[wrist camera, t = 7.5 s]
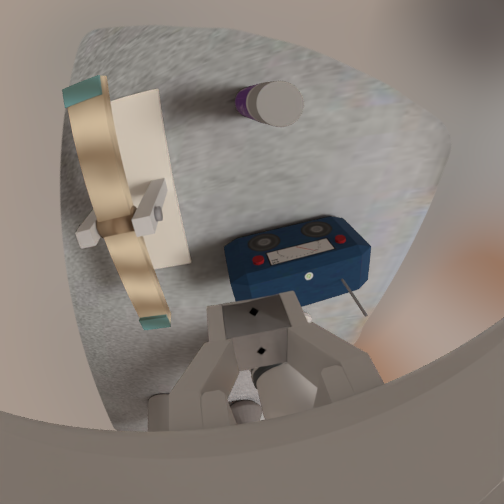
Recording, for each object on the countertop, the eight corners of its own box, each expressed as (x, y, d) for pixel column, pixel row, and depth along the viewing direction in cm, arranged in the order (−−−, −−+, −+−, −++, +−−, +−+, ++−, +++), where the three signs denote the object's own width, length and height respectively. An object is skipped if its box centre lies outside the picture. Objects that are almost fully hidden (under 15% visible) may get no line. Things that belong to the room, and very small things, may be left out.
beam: (172, 311, 38) (171, 326, 36) (144, 315, 38) (142, 330, 35) (109, 75, 20) (99, 74, 17) (72, 89, 19) (60, 90, 17)
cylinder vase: (197, 403, 73) (205, 477, 52) (168, 413, 75) (171, 481, 54) (169, 388, 66) (172, 470, 45) (140, 399, 68) (139, 473, 47)
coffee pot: (258, 410, 82) (266, 448, 69) (224, 413, 79) (230, 452, 67) (268, 379, 71) (280, 425, 58) (227, 382, 68) (235, 430, 56)
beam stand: (191, 259, 46) (191, 321, 34) (131, 269, 45) (115, 330, 32) (158, 88, 31) (134, 82, 18) (87, 109, 29) (35, 120, 17)
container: (229, 109, 34) (245, 115, 22) (243, 81, 32) (268, 70, 20) (258, 122, 36) (291, 136, 23) (273, 95, 34) (313, 94, 21)
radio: (339, 207, 46) (407, 275, 29) (339, 249, 50) (395, 322, 34) (221, 235, 44) (237, 326, 28) (232, 276, 49) (252, 369, 33)
